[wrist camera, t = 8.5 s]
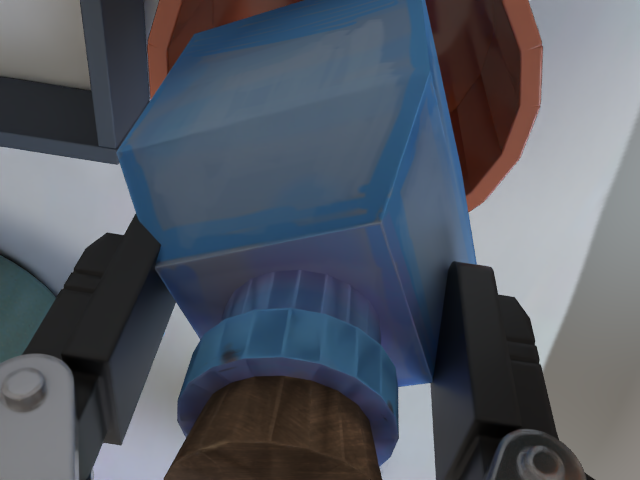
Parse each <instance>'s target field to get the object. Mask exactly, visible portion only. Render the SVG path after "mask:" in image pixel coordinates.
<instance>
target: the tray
mask: <svg viewBox="0 0 640 480" xmlns="http://www.w3.org/2000/svg"><path fill="white" fill-rule="evenodd" d="M80 5H81V13H82V21H83V29H84V37H85V44H86V52H87V60H88V68H89V76H90V84H91V91H87V90H81V89H75V88H68V87H62V86H56V85H49V84H43V83H37V82H30V81H24V80H17V79H11V78H5V77H0V146H1V147H8V148H14V149H20V150H27V151H33V152H40V153H46V154H52V155H59V156H65V157H72V158H78V159H84V160H91V161H97V162H104V163H110V164H116V165H117V164H119V159H118V156H117V153H116V152H117V150H118V149H119V147H120V146H121V144H122V143H123V141H124V140H125V138H126V137H127V135H128V134H129V132H130V131H131V129H132V128H133V126H134V125H135V123H136V122H137V120H138V119H139V117H140V116H141V114H142V113H143V111H144V110H145V108H146V107H147V105H148V104H149V102H150V101H149V84H148V68H147V51H146V35H145V19H144V3H143V0H80Z"/></svg>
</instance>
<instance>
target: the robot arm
mask: <svg viewBox="0 0 640 480" xmlns="http://www.w3.org/2000/svg"><path fill="white" fill-rule="evenodd" d="M160 247H161V244H160V243H159V242H158V241H157V240H156V239H155V238H154V236H153V235H152V234H151V233H150V232H149V231H148V230H147V229H146V228H145V227H144V226H143V225H142V223H141V222H140V221H139V220H138V217H137V214H135V216H134V218H133V220H132V221H131V223H130V225H129V227H128V229H127V231H126V233H125V234H124V235H119V234H112V233H106V234H104V235H103V236H102V237H100V238H99V239H98V240H96V241H95V242H94V243H92V244H91V245H90V246H88V247H87V248H86V249H85V251H84V252H83V254H82V256H81V257H80V259H79V261H78V262H77V264H76V266H75V267H74V271H73V273H72V272H71V274H70V276H69V277H68V279H67V281H66V282H65V284H64V288H63V289H61V291H60V292H59V294H58V296H57V297H56V299H55V301H54V302H53V304H52V306H51V308H50V309H49V311H48V313H47V314H46V316H45V318H44V319H43V321H42V323H41V324H40V326H39V328H38V329H37V331H36V333H35V334H34V336H33V338H32V339H31V341H30V343H29V344H28V346H27V348H26V349H25V351H24V352H23V354H22V355H20V356H17V357H14V358H11V359H8V360H6V361H4V362H2V363H0V480H94V472H93V466H94V463H95V461H96V458H97V456H98V453H99V451H100V449H101V446H102V444H103V443H109V444H116V445H122V442H123V439H124V437H125V434H126V432H127V429H128V426H129V424H130V421H131V419H132V416H133V413H134V411H135V408H136V405H137V403H138V400H139V398H140V395H141V392H142V390H143V387H144V384H145V382H146V379H147V377H148V374H149V371H150V369H151V366H152V363H153V361H154V358H155V356H156V353H157V350H158V348H159V345H160V342H161V340H162V337H163V335H164V332H165V329H166V327H167V324H168V322H169V319H170V316H171V314H172V311H173V308H174V306H175V303H176V301H175V299H174V298H173V296H172V295H171V293H170V292H169V290H168V289H167V287H166V285H165V284H164V282H163V281H162V279H161V278H160V276H159V275H158V273H157V272H156V270H155V266H156V262H157V258H158V254H159V251H160ZM539 360H540V359H539V355H538V351H537V346H535V338H534V334H533V329H532V325H531V321H530V318H529V317H528V315H527V314H526V312H525V311H524V310H523V308H522V307H521V305H520V304H519V303H518V301H517V300H516V298H515V297H510V296H504V295H498V292H497V286H496V281H495V276H494V271H493V269H492V268H491V267H488V266H482V265H476V264H469V263H463V262H457V261H453V262H452V263H451V265H450V267H449V269H448V275H447V282H446V290H445V297H444V304H443V311H442V318H441V325H440V332H439V339H438V347H437V354H436V361H435V368H434V375H433V381H432V383H431V398H432V416H433V433H434V451H435V468H436V480H594V479H593V478H592V477H590V476H589V475H587V474H586V473H585V472H584V469H583V467H582V465H581V463H580V462H579V460H578V459H577V457H576V456H575V455H574V453H573V452H572V451H571V450H570V449H569V448H568V447H567V446H566V445H565V444H564V443H562V442H561V441H559V438H558V435H557V432H556V428H555V424H554V419H553V415H552V411H551V407H550V402H549V398H548V394H547V389H546V385H545V381H544V376H543V372H542V368H541V365H540V364H539Z"/></svg>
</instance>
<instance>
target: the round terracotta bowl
mask: <svg viewBox="0 0 640 480" xmlns="http://www.w3.org/2000/svg"><path fill="white" fill-rule="evenodd" d="M300 1H303V0H159V3H158V7H157V10H156V14H155V17H154V21H153V24H152V27H151V31H150V34H149V38H148V45H147V50H148V67H149V84H150V99H152V97H153V96H154V94H155V93H156V91H157V90H158V88H159V87H160V85H161V84H162V82H163V81H164V79H165V78H166V76H167V75H168V73H169V72H170V70H171V69H172V67H173V66H174V64H175V63H176V61H177V60H178V58H179V57H180V55H181V53H182V52H183V50H184V49H185V47H186V46H187V44H188V43H189V41H190V40H191V38H192V37H193V35H194V34H196V33H199V32H202V31H206V30H209V29H212V28H215V27H219V26H222V25H225V24H229V23H232V22H235V21H238V20H242V19H245V18H248V17H251V16H255V15H258V14H261V13H264V12H268V11H271V10H274V9H277V8H281V7H284V6H287V5H290V4H294V3H297V2H300ZM425 1H426V6H427V11H428V16H429V20H430V25H431V30H432V34H433V39H434V44H435V48H436V53H437V58H438V63H439V67H440V72H441V77H442V81H443V86H444V91H445V95H446V100H447V105H448V109H449V114H450V119H451V124H452V128H453V133H454V138H455V142H456V147H457V152H458V156H459V161H460V166H461V171H462V177H463V183H464V189H465V195H466V201H467V208H468V212H470V211H471V210H473V209H474V208H476V207H477V206H479V205H480V204H482V203H483V202H484V201H485V200H486V199H487V198H488V197H489V196H490V195H491V193H492V192H493V191H494V190H495V188H496V187H497V186H498V185H499V184H500V182H501V181H502V180H503V179H504V178H505V176H506V175H507V174H508V173H509V171H510V170H511V169H512V168H513V167H514V165H515V164H516V163H517V162H518V160H519V159H520V157H521V155H522V152H523V150H524V147H525V145H526V142H527V140H528V137H529V135H530V132H531V130H532V127H533V125H534V122H535V119H536V117H537V114H538V112H539V109H540V104H541V89H542V62H543V46H542V40H541V37H540V34H539V31H538V28H537V25H536V22H535V19H534V16H533V13H532V10H531V7H530V4H529V1H528V0H425Z"/></svg>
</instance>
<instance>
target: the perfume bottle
mask: <svg viewBox="0 0 640 480" xmlns="http://www.w3.org/2000/svg"><path fill="white" fill-rule="evenodd" d="M116 153H117V156H118V159H119V162H120V165H121V168H122V171H123V174H124V177H125V180H126V183H127V186H128V189H129V193H130V196H131V199H132V202H133V205H134V208H135V211H136V214H137V217H138V220H139V221H140V222H141V223H142V225H143V226H144V227H145V228H146V229H147V230H148V231H149V232H150V233H151V234H152V235H153V236H154V238H155V239H156V240H157V241H158V242H159V243H160V244H161V247H160V251H159V254H158V258H157V262H156V266H155V270H156V272H157V273H158V275H159V276H160V278H161V279H162V281H163V282H164V284H165V285H166V287H167V289H168V290H169V292H170V293H171V295H172V296H173V298H174V299H175V301H176V303H177V304H178V306H179V307H180V309H181V310H182V312H183V313H184V315H185V316H186V318H187V320H188V321H189V323H190V324H191V326H192V327H193V329H194V330H195V332H196V334H197V335H198V337H199V338H200V342H199V344H198V345H197V347H196V349H195V350H194V352H193V354H192V358H191V361H190V364H189V367H188V370H187V373H186V376H185V379H184V383H183V386H182V389H181V392H180V395H179V398H178V412H177V421H178V423H179V425H180V427H181V429H182V431H183V433H184V435H185V437H186V440H185V441H184V443H183V445H182V447H181V449H180V450H179V452H178V454H177V456H176V458H175V459H174V461H173V463H172V465H171V466H170V468H169V470H168V472H167V474H166V475H165V477H164V480H382V477H381V472H380V468H379V466H381V465H382V464H383V463H384V462H385V461H386V460H388V459H389V458H390V457H391V455H392V452H393V450H394V448H395V445H396V443H397V441H398V439H399V429H398V387H401V386H409V385H417V384H425V383H432V381H433V375H434V368H435V361H436V354H437V347H438V339H439V332H440V325H441V318H442V311H443V304H444V297H445V290H446V282H447V275H448V269H449V267H450V265H451V263H452V262H453V261H457V262H463V263H469V264H476V265H477V263H476V257H475V251H474V245H473V239H472V232H471V226H470V220H469V214H468V208H467V201H466V195H465V189H464V183H463V177H462V171H461V166H460V161H459V156H458V152H457V147H456V142H455V138H454V133H453V128H452V124H451V119H450V114H449V109H448V105H447V100H446V95H445V91H444V86H443V81H442V77H441V72H440V67H439V63H438V58H437V53H436V48H435V44H434V39H433V34H432V30H431V25H430V20H429V16H428V11H427V6H426V1H425V0H303V1H300V2H297V3H294V4H290V5H287V6H284V7H281V8H277V9H274V10H271V11H268V12H264V13H261V14H258V15H255V16H251V17H248V18H245V19H242V20H238V21H235V22H232V23H229V24H225V25H222V26H219V27H215V28H212V29H209V30H206V31H202V32H199V33H196V34H194V35H193V37H192V38H191V40H190V41H189V43H188V44H187V46H186V47H185V49H184V50H183V52H182V53H181V55H180V57H179V58H178V60H177V61H176V63H175V64H174V66H173V67H172V69H171V70H170V72H169V73H168V75H167V76H166V78H165V79H164V81H163V82H162V84H161V85H160V87H159V88H158V90H157V91H156V93H155V94H154V96H153V97H152V99H151V100H150V102H149V104H148V105H147V107H146V108H145V110H144V111H143V113H142V114H141V116H140V117H139V119H138V120H137V122H136V123H135V125H134V126H133V128H132V129H131V131H130V132H129V134H128V135H127V137H126V138H125V140H124V141H123V143H122V144H121V146H120V147H119V149H118V150H117V152H116Z"/></svg>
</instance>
